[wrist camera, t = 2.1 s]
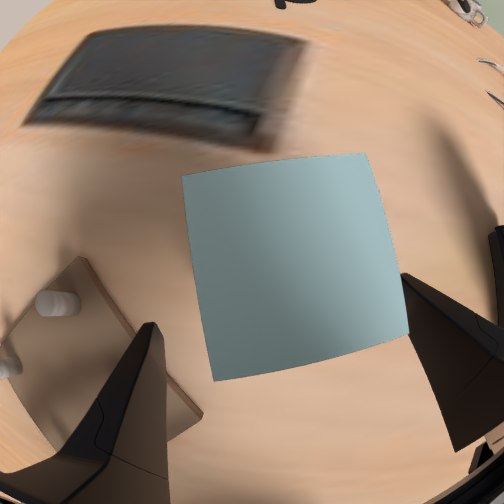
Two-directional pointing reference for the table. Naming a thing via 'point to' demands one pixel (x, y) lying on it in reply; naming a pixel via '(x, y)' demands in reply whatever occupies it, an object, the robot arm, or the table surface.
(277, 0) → the black flat pronged piece
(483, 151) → the table surface
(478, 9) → the mug
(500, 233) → the black ridged slab
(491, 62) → the sunglasses
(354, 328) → the block
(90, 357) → the pin stand
